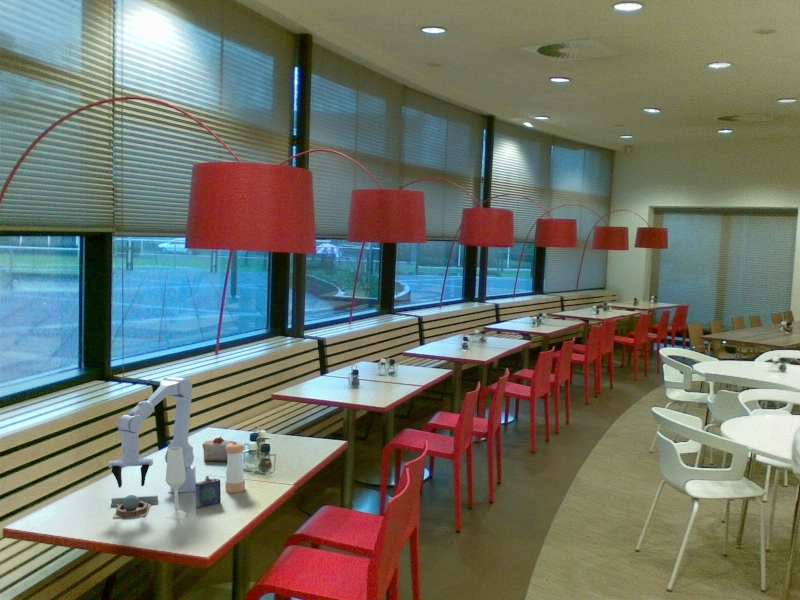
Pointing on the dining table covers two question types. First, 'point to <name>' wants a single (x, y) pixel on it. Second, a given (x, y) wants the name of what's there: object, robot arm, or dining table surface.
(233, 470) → the pepper shaker
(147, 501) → the grey bar
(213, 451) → the food item
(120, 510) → the ring cradle
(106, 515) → the dining table surface
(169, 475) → the champagne flute
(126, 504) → the ball
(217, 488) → the flask
